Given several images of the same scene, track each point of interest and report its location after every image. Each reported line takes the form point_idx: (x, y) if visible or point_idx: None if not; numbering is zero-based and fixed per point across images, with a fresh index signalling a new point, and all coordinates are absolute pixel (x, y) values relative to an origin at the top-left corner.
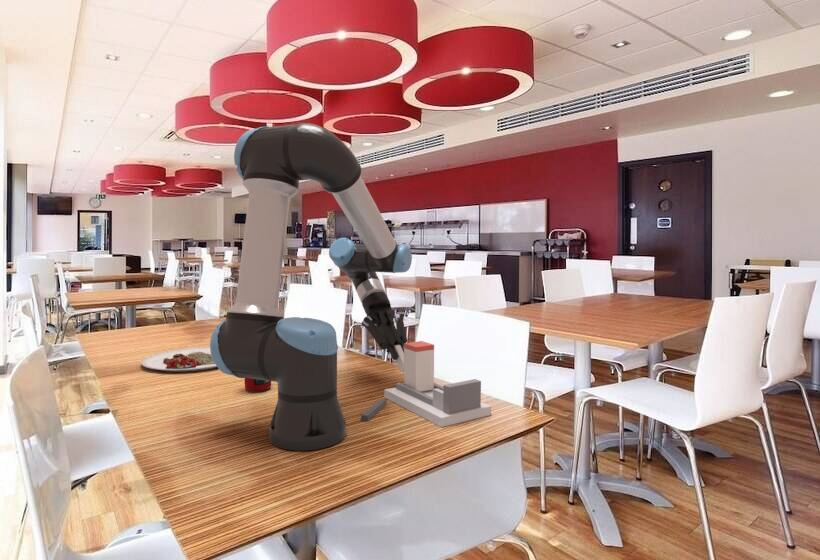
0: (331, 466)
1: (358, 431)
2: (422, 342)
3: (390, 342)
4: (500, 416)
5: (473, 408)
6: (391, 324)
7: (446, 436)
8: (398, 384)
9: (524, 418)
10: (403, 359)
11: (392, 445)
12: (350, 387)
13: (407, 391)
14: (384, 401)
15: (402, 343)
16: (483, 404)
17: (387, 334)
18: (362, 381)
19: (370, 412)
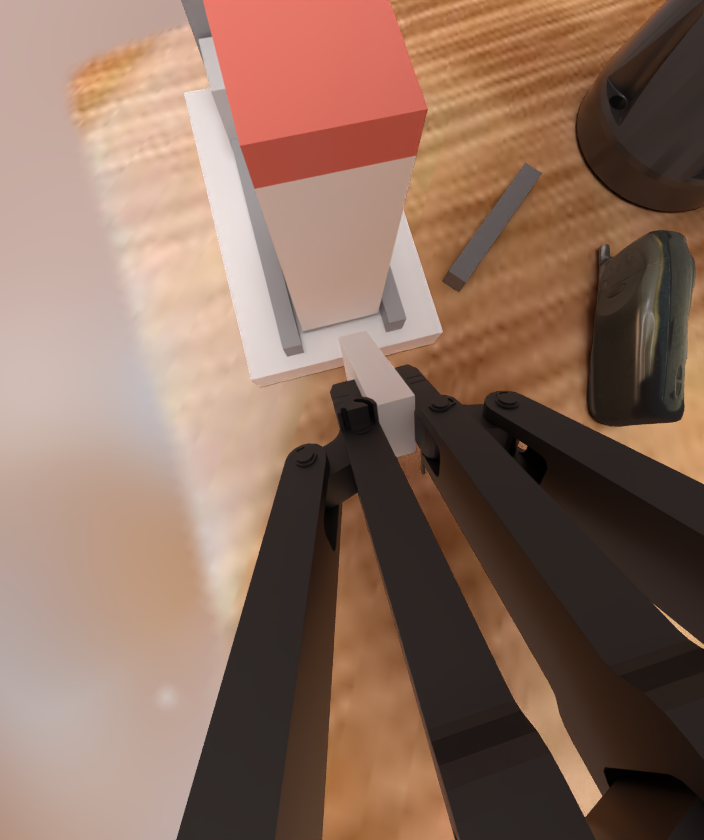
0: (612, 6)
1: (546, 130)
2: (259, 90)
3: (459, 413)
4: (180, 109)
5: None
6: (493, 713)
7: None
8: (401, 303)
9: (130, 81)
10: (365, 346)
11: (487, 46)
12: None
13: None
14: (457, 258)
15: (351, 403)
16: (196, 111)
17: (514, 478)
18: (471, 549)
19: (514, 183)
